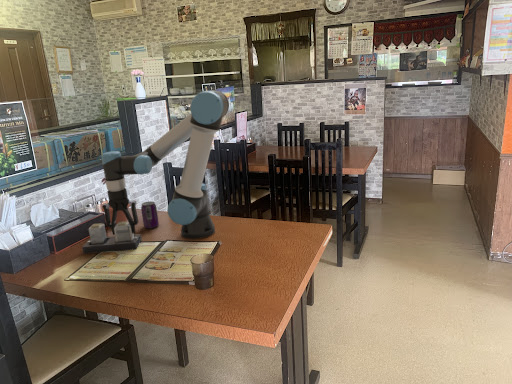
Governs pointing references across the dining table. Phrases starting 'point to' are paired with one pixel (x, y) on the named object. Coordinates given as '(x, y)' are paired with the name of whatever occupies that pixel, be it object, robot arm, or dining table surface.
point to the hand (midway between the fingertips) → (125, 240)
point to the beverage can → (149, 215)
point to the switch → (107, 241)
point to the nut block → (123, 232)
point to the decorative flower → (120, 214)
